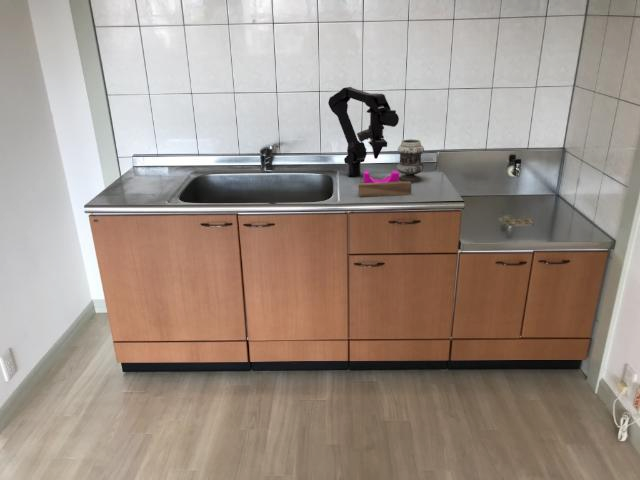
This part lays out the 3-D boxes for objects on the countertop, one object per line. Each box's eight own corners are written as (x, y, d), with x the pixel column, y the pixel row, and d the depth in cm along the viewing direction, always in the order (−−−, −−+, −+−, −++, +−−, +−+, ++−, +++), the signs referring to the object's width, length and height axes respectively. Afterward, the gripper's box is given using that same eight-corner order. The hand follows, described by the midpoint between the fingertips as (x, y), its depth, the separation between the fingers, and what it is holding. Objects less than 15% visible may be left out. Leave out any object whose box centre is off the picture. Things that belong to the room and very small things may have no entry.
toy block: (396, 185, 227) (397, 169, 224) (398, 190, 222) (399, 173, 219) (363, 186, 228) (363, 169, 225) (364, 190, 222) (364, 173, 219)
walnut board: (358, 194, 216) (358, 183, 214) (409, 192, 218) (409, 181, 216) (359, 197, 213) (359, 185, 211) (410, 194, 215) (411, 183, 213)
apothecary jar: (412, 174, 242) (414, 136, 235) (428, 180, 232) (430, 141, 225) (391, 178, 238) (392, 139, 231) (405, 184, 228) (407, 144, 220)
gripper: (355, 120, 231) (354, 154, 237) (362, 128, 214) (361, 164, 220) (379, 119, 232) (378, 153, 238) (388, 127, 215) (386, 163, 221)
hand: (375, 158), depth 230 cm, fingers closed
